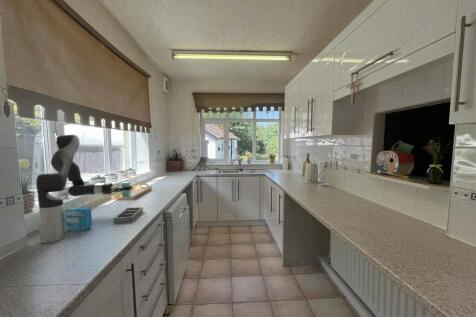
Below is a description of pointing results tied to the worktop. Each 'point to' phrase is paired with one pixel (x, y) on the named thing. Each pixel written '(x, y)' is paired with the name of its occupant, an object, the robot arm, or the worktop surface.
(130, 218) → the slot rack
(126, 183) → the brushed teal metal block
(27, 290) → the worktop surface
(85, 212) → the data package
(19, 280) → the worktop surface
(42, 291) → the worktop surface
